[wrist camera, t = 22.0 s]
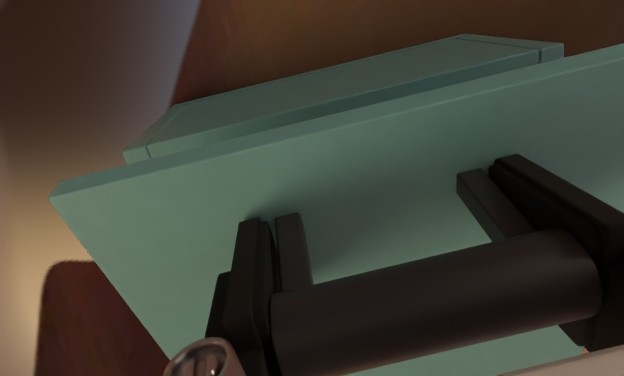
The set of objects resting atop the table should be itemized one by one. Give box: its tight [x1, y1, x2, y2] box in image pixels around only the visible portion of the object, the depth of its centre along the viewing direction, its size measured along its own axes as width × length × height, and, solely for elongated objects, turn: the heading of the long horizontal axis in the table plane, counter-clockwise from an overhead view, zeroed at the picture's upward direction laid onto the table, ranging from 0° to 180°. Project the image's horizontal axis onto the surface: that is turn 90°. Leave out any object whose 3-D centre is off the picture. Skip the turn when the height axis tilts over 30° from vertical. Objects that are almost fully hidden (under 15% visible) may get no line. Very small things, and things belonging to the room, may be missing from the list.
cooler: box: [123, 34, 564, 164], centre depth 21 cm, size 18×16×8 cm
